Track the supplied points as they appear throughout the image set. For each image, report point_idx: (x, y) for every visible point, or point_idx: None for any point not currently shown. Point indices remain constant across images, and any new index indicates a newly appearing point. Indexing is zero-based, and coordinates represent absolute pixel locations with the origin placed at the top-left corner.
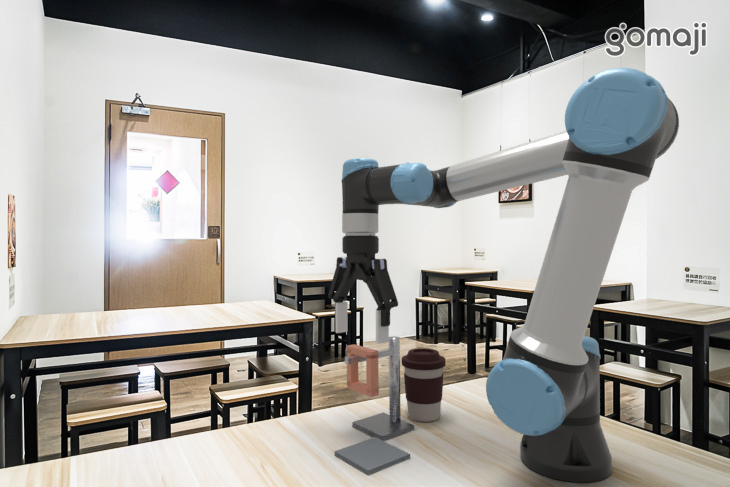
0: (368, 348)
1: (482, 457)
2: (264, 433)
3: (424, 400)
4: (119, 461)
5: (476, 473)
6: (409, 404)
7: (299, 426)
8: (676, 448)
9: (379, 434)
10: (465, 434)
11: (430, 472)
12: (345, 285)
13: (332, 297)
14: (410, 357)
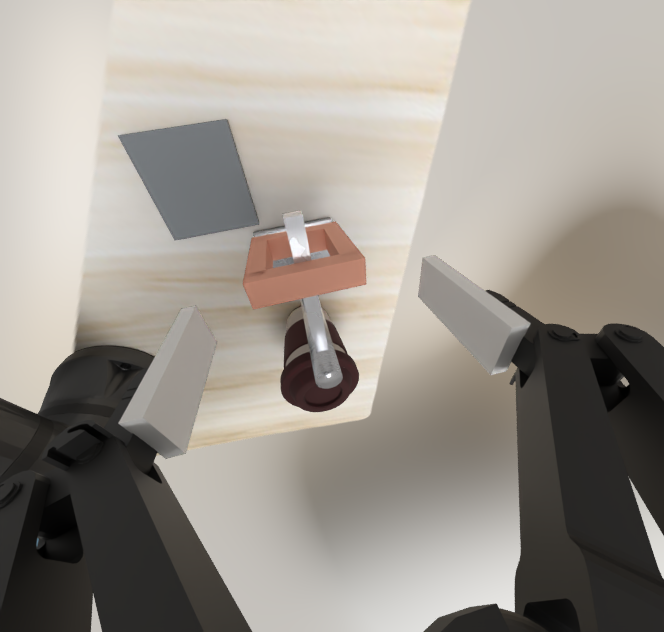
0: (293, 297)
1: (156, 319)
2: (402, 16)
3: (288, 332)
4: None
5: (105, 291)
6: None
7: (385, 124)
8: None
9: (261, 233)
10: (232, 335)
11: (118, 239)
12: (550, 470)
13: (596, 339)
14: None
